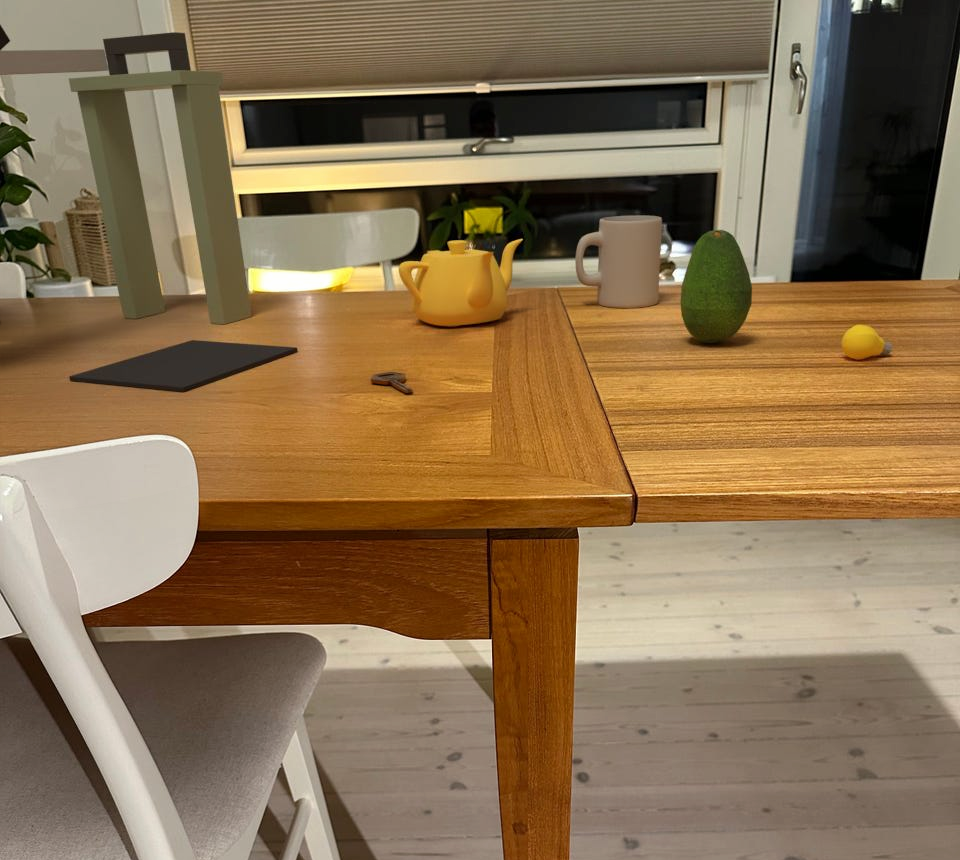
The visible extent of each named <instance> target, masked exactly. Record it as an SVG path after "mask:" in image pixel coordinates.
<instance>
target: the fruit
mask: <svg viewBox="0 0 960 860" xmlns="http://www.w3.org/2000/svg"><path fill="white" fill-rule="evenodd" d="M683 276H684V277H683V280H682V282H681V283H682V284H681V287H680V288H681V289H680V303H679V304H680V313H681V318H682V320H683V324H684V326H685V329H686V330H687V331H688V334H690V336H691V337H693V338H694V339H696V340H698V341H699V342H701V343H704V344H717V343H718V344H719V343H721V342H724V341H727V340H729V339H730V338H732V337H734V336H735V335H736V334H737V333H738V332H739V330H740V329H741V328H742V326H743V325H744V323H745V321H746V319H747V317H748V315H749V312H750V309H751V306H752V303H753V302H752V301H753V299H752V298H753V296H752V295H753V285H752V282H751V275H750V272H749V269H748V267H747V264H746V261H745V258H744V255H743V252H742V250H741V248H740V245H739V243H738V242H737V239H736V238H735V237H734V235H733V234H732V233H731V232H729V231H727V230H724V229H714V230H709V231H707V232H705V233H704V234H702V235H701V237H699V239H697V241H696V243H695V244H694V246H693V249H692V252H691V254H690V257H689V261H688V264H687V267H686V271H685V273H684V275H683Z"/></svg>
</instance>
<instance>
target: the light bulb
mask: <svg viewBox="0 0 960 860" xmlns="http://www.w3.org/2000/svg"><path fill="white" fill-rule="evenodd" d="M841 349H842V352H843V354H844V355H845V356H846V357H848V358H850V359H853V360H856V361H861V360H865V359H867V358H870V357H876V356H879V355H880V356H884V357H887V356H889V355H890V354H891V353H892V352H893V345H892V343H891V342H888V341H885V340H884V338H882V337H881V336H879V334H878V333H877V331H876V330H875V328H873V327H871V326H869V325H864V324H856V325H854V326H852V327H850V328H849V329H847V330H846V331H845V333H844V334H843V336H842V338H841Z"/></svg>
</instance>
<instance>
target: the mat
mask: <svg viewBox="0 0 960 860" xmlns="http://www.w3.org/2000/svg"><path fill="white" fill-rule="evenodd" d="M298 351H299V350H298V347H294V346H283V345H282V346H280V345H267V344H254V343H253V344H252V343H240V342H225V341H213V340H212V341H211V340H210V341H209V340H195V339H191V340H188V341H185V342H180V343H177V344H174V345H170V346H167V347H164V348H161V349H157V350H154V351H149V352H147V353H144V354H140V355H137V356H133V357H130V358H127V359H122V360H120V361H117V362H112V363H109V364H106V365H103V366H99V367H96V368H93V369H89V370H86V371H83V372H79V373H75V374H72V375H69V376H68V378H69V381H70V382H80V383H90V384H99V385H108V386H118V387H119V386H120V387H130V388H138V389H139V388H140V389H148V390H150V389H151V390H157V391H159V390H160V391H169V392H180V393H185V392H187V391H191V390H193V389H196V388H199V387H202V386H204V385H208V384H210V383H213V382H216V381H219V380H222V379H224V378H228V377H231V376H233V375H236V374H238V373H241V372H244V371H247V370H251V369H253V368H256V367H258V366H262V365H265V364H267V363H269V362H273V361H275V360H278V359H281V358H284V357H286V356H290V355H292V354H295V353H297V352H298Z"/></svg>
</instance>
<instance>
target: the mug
mask: <svg viewBox="0 0 960 860" xmlns="http://www.w3.org/2000/svg"><path fill="white" fill-rule="evenodd" d="M662 228H663V218H662V217H660V216H656V215H618V216H606V217H602V218H600V219H599V225H598V231H594V232H591V233H587V234H585V235H583V236H581V238H580V239H579V241H578V243H577V246H576V251H575V262H574V263H575V272H576V273H575V274H576V277H577V280H578V281H579V282H580V284H582V285H583V286H586V287H591V288H592V287H595V288H596V287H597V304H598V305H599V306H602V307H605V308H613V309H638V308H639V309H640V308H646V307H647V308H648V307H652V306H655V305H657V304H658V302H659V298H660V297H659V296H660V269H661V251H662V233H663V232H662V230H663V229H662ZM589 246H596V247H598V262H597V265H598V266H597V272H596V273H593V274H587V272H586V271H585V268H584V254H585V251H586V249H587V247H589Z"/></svg>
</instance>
